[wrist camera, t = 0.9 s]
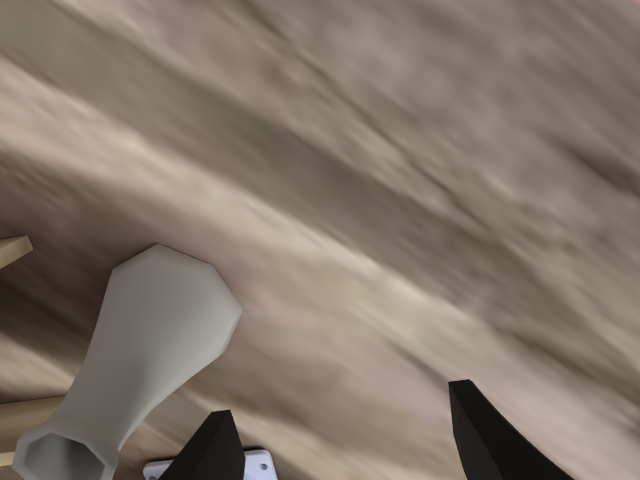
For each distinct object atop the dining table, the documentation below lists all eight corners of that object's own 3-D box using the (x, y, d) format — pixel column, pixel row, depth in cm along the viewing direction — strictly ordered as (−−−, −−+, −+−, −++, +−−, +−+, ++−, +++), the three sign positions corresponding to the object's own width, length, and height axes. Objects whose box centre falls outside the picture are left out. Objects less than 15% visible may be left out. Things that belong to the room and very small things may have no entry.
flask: (79, 311, 23) (-93, 469, 14) (155, 216, 21) (13, 328, 12) (188, 386, 25) (99, 575, 15) (268, 305, 23) (222, 467, 13)
